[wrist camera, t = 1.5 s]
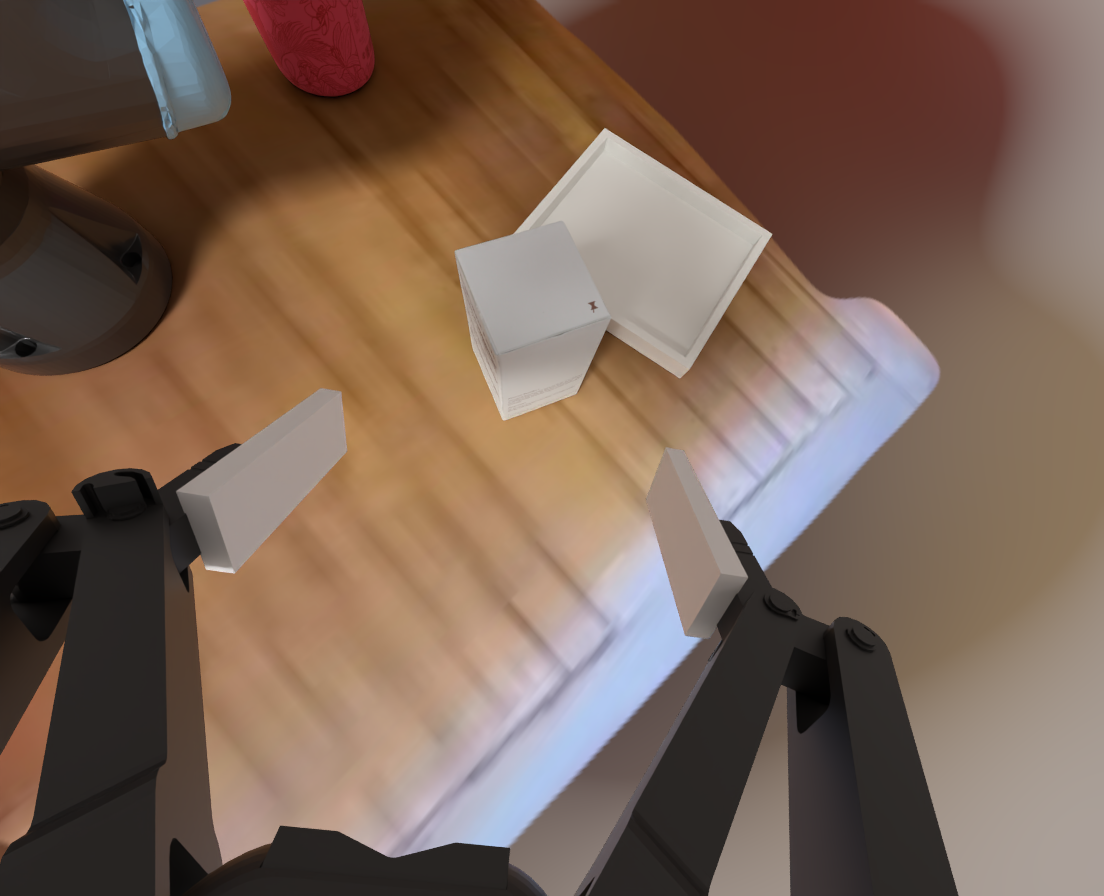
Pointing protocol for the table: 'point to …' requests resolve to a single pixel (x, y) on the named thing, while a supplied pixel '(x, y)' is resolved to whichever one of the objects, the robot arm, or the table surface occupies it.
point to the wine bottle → (317, 42)
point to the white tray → (652, 248)
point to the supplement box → (531, 316)
